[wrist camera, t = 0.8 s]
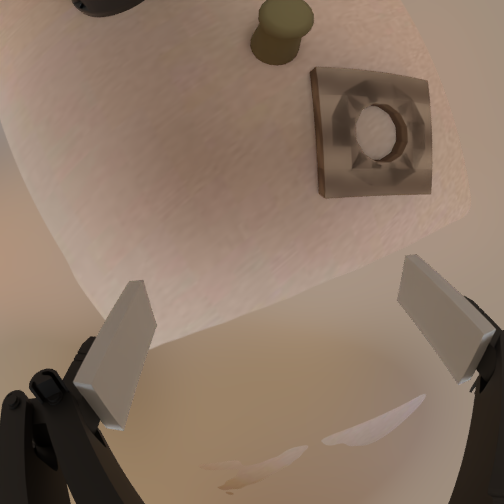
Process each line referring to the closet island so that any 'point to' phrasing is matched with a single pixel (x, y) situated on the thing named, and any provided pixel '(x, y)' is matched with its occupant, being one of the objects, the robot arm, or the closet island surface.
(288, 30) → the olive green knobbed peg
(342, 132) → the socket block
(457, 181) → the closet island surface
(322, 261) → the closet island surface
